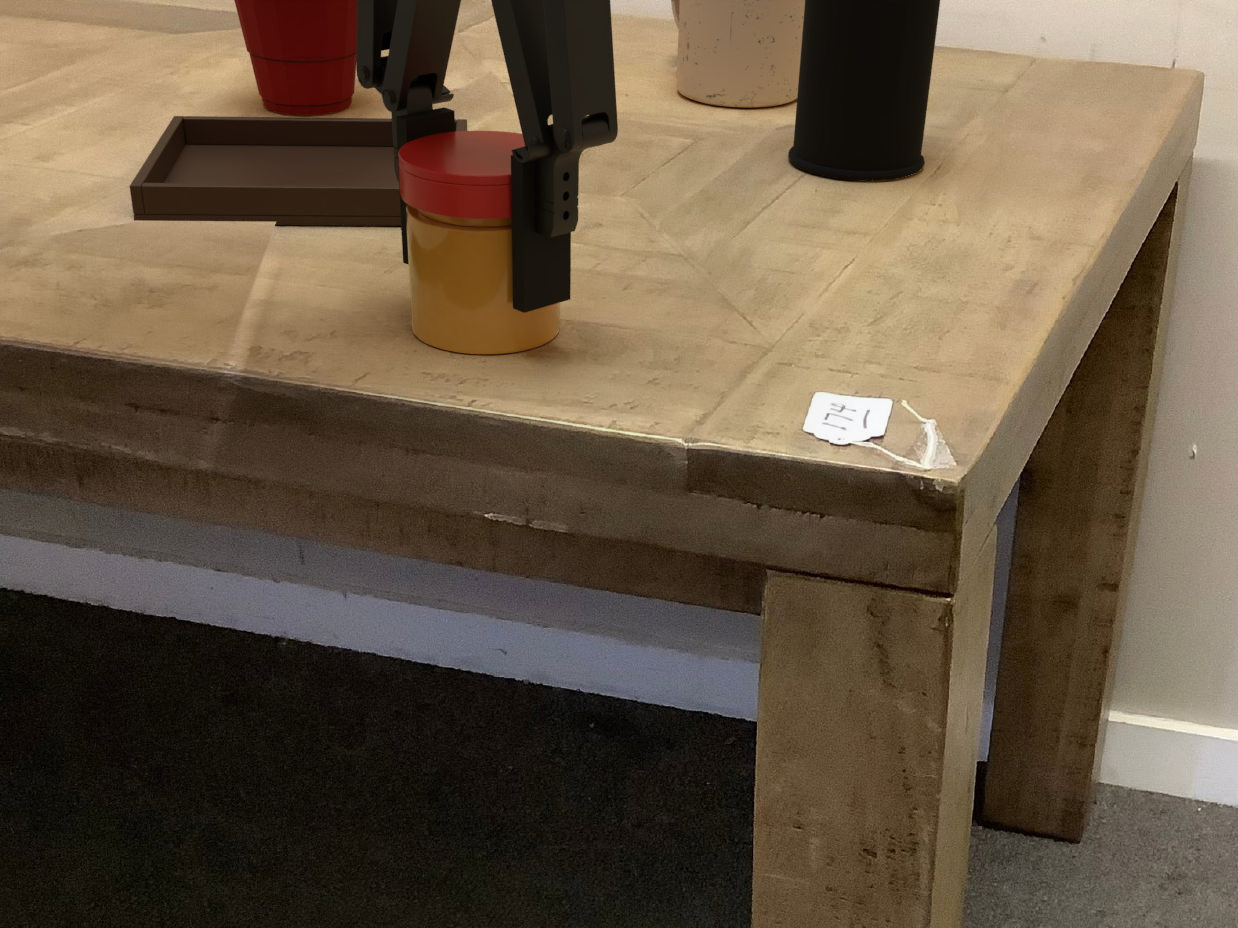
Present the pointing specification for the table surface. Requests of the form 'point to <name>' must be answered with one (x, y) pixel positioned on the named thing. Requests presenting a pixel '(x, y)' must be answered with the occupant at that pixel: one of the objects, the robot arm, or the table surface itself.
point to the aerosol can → (864, 87)
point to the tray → (272, 171)
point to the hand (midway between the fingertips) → (484, 279)
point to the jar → (469, 287)
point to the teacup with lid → (739, 51)
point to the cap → (459, 173)
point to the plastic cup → (302, 53)
